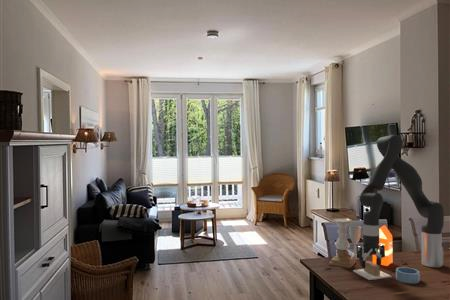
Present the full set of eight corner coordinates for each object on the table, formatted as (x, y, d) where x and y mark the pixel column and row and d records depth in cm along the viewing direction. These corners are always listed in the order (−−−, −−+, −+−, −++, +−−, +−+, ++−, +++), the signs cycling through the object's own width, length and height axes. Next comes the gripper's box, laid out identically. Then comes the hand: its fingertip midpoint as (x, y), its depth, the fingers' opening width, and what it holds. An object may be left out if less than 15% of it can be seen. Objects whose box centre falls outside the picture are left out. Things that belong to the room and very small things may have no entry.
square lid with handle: (373, 268, 184) (373, 258, 184) (390, 277, 172) (390, 266, 172) (353, 271, 181) (353, 261, 180) (369, 279, 169) (369, 268, 169)
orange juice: (372, 264, 193) (372, 226, 193) (377, 260, 200) (377, 223, 199) (387, 267, 188) (387, 228, 188) (392, 263, 194) (392, 225, 194)
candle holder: (350, 269, 185) (350, 222, 185) (328, 266, 191) (328, 220, 191) (355, 263, 194) (355, 219, 194) (335, 260, 200) (335, 217, 200)
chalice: (360, 262, 197) (360, 228, 197) (347, 260, 200) (347, 227, 200) (362, 258, 203) (362, 226, 203) (350, 256, 207) (350, 224, 206)
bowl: (408, 276, 175) (408, 266, 175) (424, 283, 166) (424, 272, 166) (391, 278, 172) (391, 268, 172) (406, 286, 163) (406, 275, 163)
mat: (374, 269, 185) (374, 268, 185) (392, 278, 172) (392, 277, 172) (351, 272, 181) (351, 271, 181) (369, 282, 168) (368, 280, 168)
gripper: (378, 230, 182) (378, 263, 182) (353, 232, 178) (353, 265, 178) (388, 234, 175) (388, 268, 175) (363, 236, 171) (363, 271, 171)
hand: (370, 267), depth 177 cm, fingers open, 8 cm apart
